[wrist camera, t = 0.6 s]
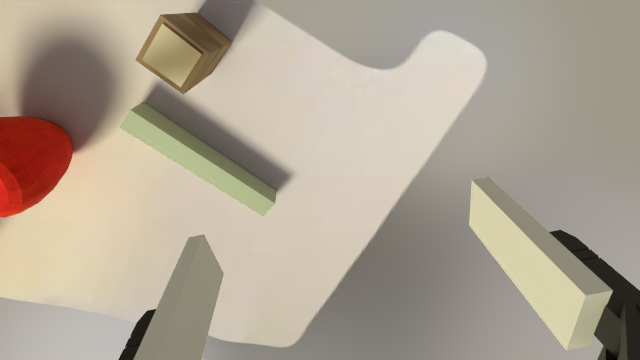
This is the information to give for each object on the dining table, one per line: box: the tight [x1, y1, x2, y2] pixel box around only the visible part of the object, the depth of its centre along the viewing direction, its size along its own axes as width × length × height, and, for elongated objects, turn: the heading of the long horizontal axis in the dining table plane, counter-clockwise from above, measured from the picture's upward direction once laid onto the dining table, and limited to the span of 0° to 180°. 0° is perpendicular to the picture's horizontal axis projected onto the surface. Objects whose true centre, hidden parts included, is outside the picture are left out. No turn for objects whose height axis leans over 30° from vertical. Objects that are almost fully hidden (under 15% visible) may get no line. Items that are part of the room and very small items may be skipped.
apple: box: [0, 116, 73, 217], centre depth 31 cm, size 9×9×11 cm
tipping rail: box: [120, 102, 276, 216], centre depth 36 cm, size 18×2×3 cm, turn 49°
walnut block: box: [136, 13, 232, 94], centre depth 27 cm, size 4×4×9 cm
